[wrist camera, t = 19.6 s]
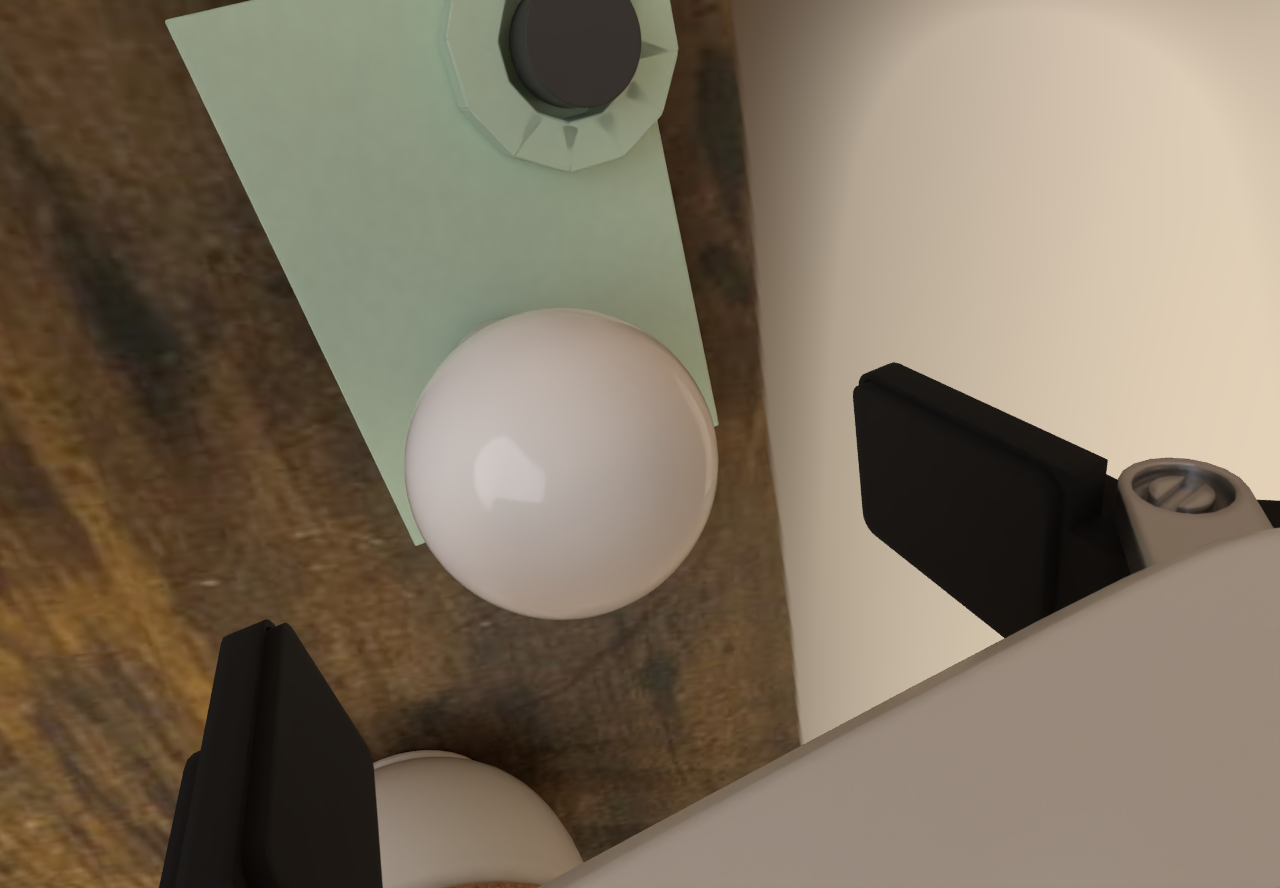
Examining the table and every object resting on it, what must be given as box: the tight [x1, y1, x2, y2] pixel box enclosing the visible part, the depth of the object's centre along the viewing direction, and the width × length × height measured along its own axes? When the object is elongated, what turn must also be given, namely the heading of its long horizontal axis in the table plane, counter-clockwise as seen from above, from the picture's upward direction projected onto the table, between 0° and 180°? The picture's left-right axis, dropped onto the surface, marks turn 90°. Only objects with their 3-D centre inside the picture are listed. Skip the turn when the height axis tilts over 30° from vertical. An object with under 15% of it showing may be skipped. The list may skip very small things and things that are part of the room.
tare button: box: [509, 0, 641, 108], centre depth 17 cm, size 3×3×2 cm
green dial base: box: [165, 0, 719, 546], centre depth 21 cm, size 15×11×3 cm
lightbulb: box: [404, 307, 718, 620], centre depth 17 cm, size 6×6×11 cm
